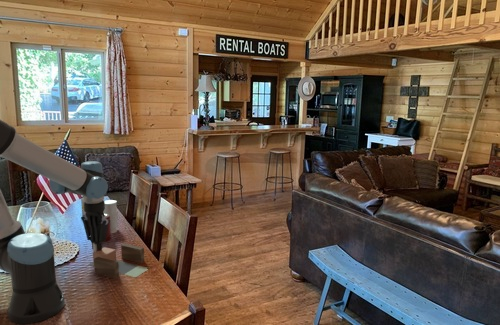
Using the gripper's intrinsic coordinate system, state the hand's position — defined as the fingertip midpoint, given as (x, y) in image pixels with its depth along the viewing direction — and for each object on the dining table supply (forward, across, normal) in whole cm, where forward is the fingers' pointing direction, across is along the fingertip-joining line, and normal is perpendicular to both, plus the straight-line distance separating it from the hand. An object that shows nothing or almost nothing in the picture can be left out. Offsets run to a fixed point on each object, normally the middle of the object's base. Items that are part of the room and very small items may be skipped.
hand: (97, 257), depth 147 cm
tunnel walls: (+2, -12, 0) cm, 12 cm away
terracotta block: (+2, -4, 0) cm, 4 cm away
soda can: (+2, +14, -17) cm, 23 cm away
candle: (+2, +20, -28) cm, 35 cm away
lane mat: (+2, -11, 0) cm, 11 cm away
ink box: (+2, +45, -41) cm, 61 cm away
